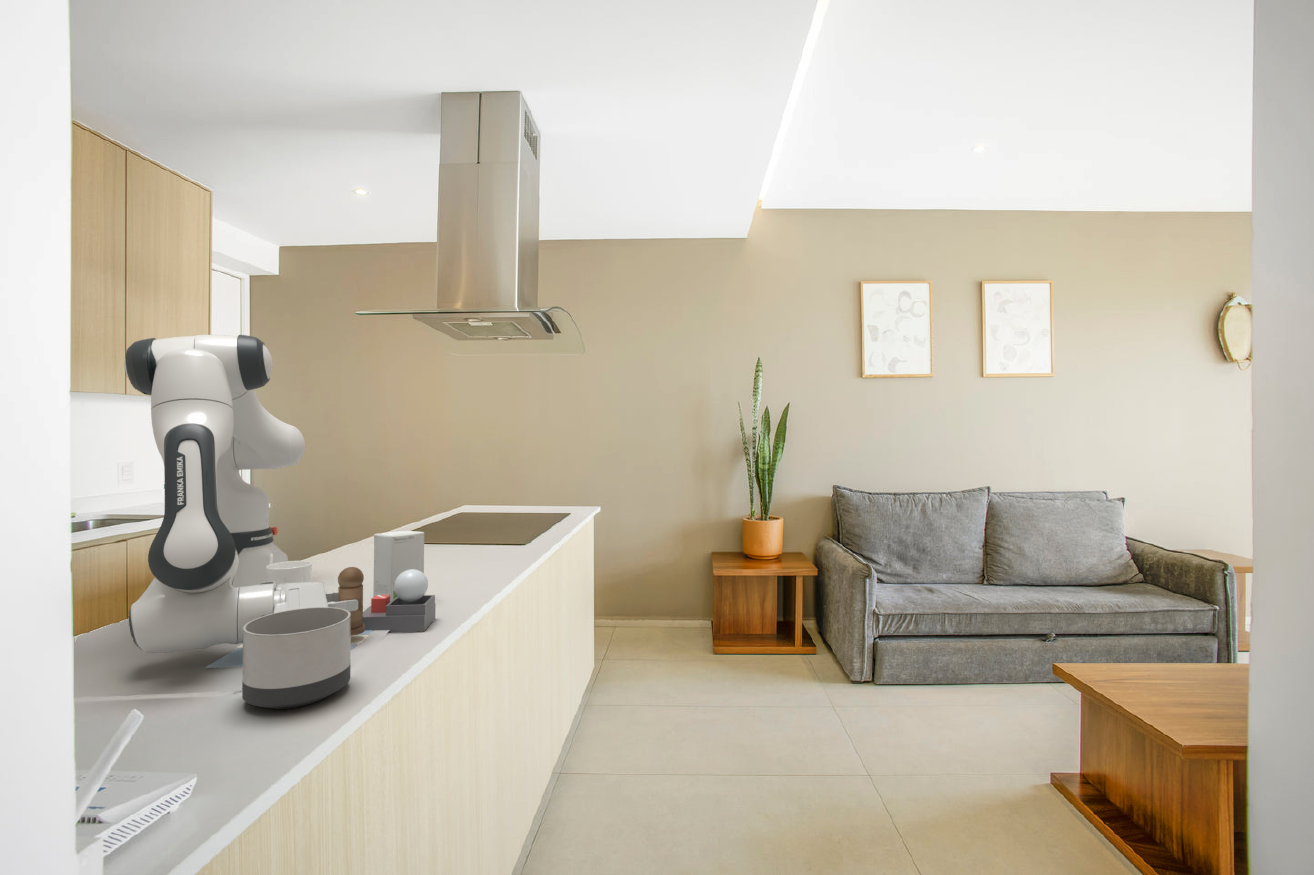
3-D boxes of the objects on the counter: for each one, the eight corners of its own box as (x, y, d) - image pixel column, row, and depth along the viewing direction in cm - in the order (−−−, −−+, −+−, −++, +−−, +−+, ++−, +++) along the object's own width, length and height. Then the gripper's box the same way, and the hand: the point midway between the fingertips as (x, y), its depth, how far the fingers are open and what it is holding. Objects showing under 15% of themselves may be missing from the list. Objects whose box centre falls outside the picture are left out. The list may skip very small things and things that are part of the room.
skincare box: (390, 613, 121) (390, 536, 121) (370, 608, 125) (371, 533, 125) (425, 603, 128) (426, 531, 128) (406, 599, 132) (406, 528, 132)
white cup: (320, 609, 124) (320, 561, 124) (293, 620, 116) (293, 569, 116) (284, 607, 124) (285, 560, 124) (255, 619, 117) (256, 568, 117)
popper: (371, 620, 116) (371, 591, 116) (435, 618, 118) (435, 589, 118) (355, 633, 108) (356, 602, 108) (424, 631, 110) (424, 600, 110)
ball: (399, 597, 116) (399, 566, 116) (431, 596, 117) (431, 566, 117) (389, 606, 110) (389, 573, 110) (423, 605, 111) (423, 572, 111)
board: (260, 636, 106) (260, 633, 106) (374, 633, 109) (374, 629, 109) (202, 672, 90) (202, 667, 90) (338, 667, 93) (338, 663, 93)
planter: (363, 696, 83) (363, 620, 83) (253, 727, 74) (253, 642, 74) (334, 670, 92) (335, 602, 92) (233, 694, 83) (234, 619, 83)
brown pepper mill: (342, 628, 105) (342, 564, 105) (368, 627, 106) (368, 564, 106) (331, 636, 101) (332, 570, 101) (358, 636, 101) (359, 569, 101)
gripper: (258, 608, 88) (362, 596, 95) (264, 580, 105) (351, 571, 112) (258, 651, 88) (362, 635, 95) (263, 615, 105) (351, 604, 112)
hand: (356, 600), depth 104 cm, fingers closed on brown pepper mill, 4 cm apart
